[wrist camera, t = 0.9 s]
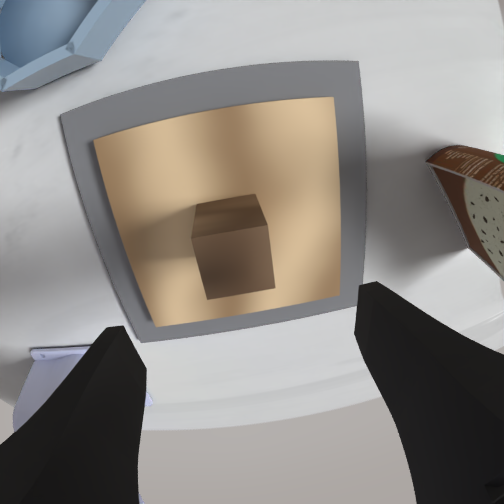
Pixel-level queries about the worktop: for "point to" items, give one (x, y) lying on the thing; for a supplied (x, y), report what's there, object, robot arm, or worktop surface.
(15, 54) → the bowl
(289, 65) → the mat
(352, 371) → the worktop surface
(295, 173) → the lid
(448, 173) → the food container
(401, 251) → the worktop surface
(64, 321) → the worktop surface
